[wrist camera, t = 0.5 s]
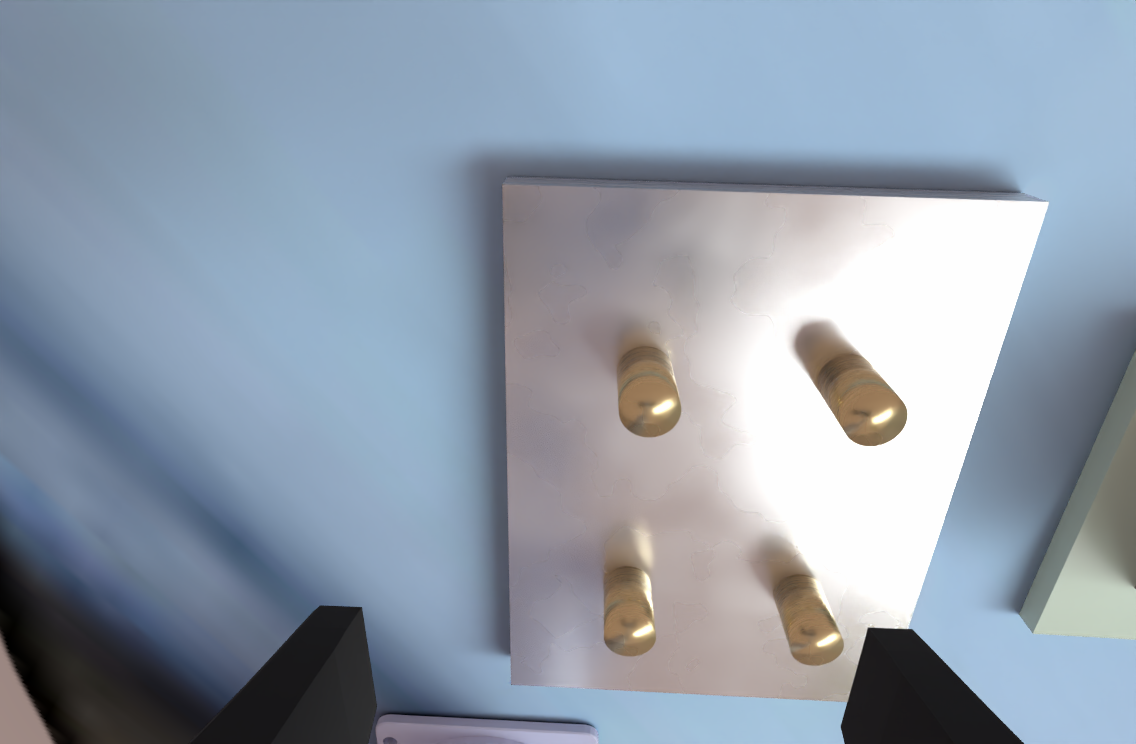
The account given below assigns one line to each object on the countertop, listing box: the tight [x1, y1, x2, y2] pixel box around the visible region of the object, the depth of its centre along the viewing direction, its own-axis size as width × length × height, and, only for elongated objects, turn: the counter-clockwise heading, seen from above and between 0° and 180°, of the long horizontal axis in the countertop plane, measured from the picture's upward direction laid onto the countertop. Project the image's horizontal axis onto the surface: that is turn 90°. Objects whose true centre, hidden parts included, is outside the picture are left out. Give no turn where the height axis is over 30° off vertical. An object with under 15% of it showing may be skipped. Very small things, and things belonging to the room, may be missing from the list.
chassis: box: [502, 176, 1049, 702], centre depth 18 cm, size 16×12×3 cm
